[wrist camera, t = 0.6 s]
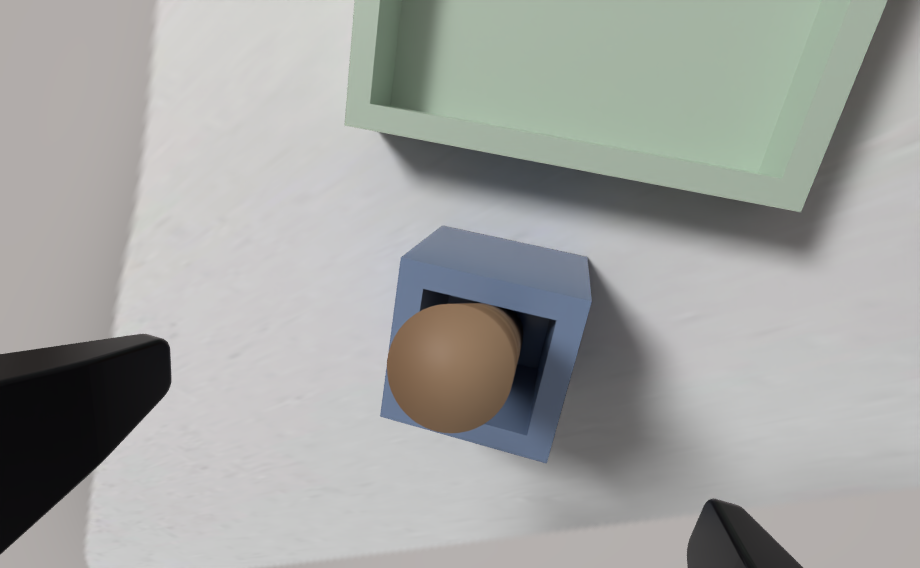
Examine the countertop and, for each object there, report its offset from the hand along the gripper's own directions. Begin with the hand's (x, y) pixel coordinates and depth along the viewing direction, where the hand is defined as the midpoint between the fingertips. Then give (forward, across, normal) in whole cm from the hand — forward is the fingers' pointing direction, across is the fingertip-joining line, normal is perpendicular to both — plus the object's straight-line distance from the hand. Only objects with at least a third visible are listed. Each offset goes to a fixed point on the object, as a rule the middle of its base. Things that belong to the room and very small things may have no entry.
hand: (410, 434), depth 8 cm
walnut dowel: (+6, 0, +1) cm, 6 cm away
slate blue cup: (+12, 0, +2) cm, 12 cm away
